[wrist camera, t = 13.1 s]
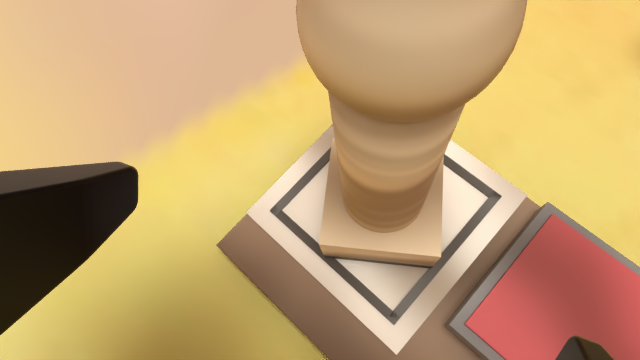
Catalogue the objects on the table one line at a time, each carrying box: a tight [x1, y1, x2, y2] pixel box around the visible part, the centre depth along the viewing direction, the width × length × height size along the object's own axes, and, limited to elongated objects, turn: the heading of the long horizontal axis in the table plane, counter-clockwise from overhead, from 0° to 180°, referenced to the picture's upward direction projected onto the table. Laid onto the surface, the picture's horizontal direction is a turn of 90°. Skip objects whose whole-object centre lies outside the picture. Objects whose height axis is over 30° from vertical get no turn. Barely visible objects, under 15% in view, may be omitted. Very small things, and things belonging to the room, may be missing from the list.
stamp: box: [296, 0, 527, 268], centre depth 13 cm, size 5×5×14 cm
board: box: [217, 124, 640, 360], centre depth 17 cm, size 11×23×2 cm, turn 47°
